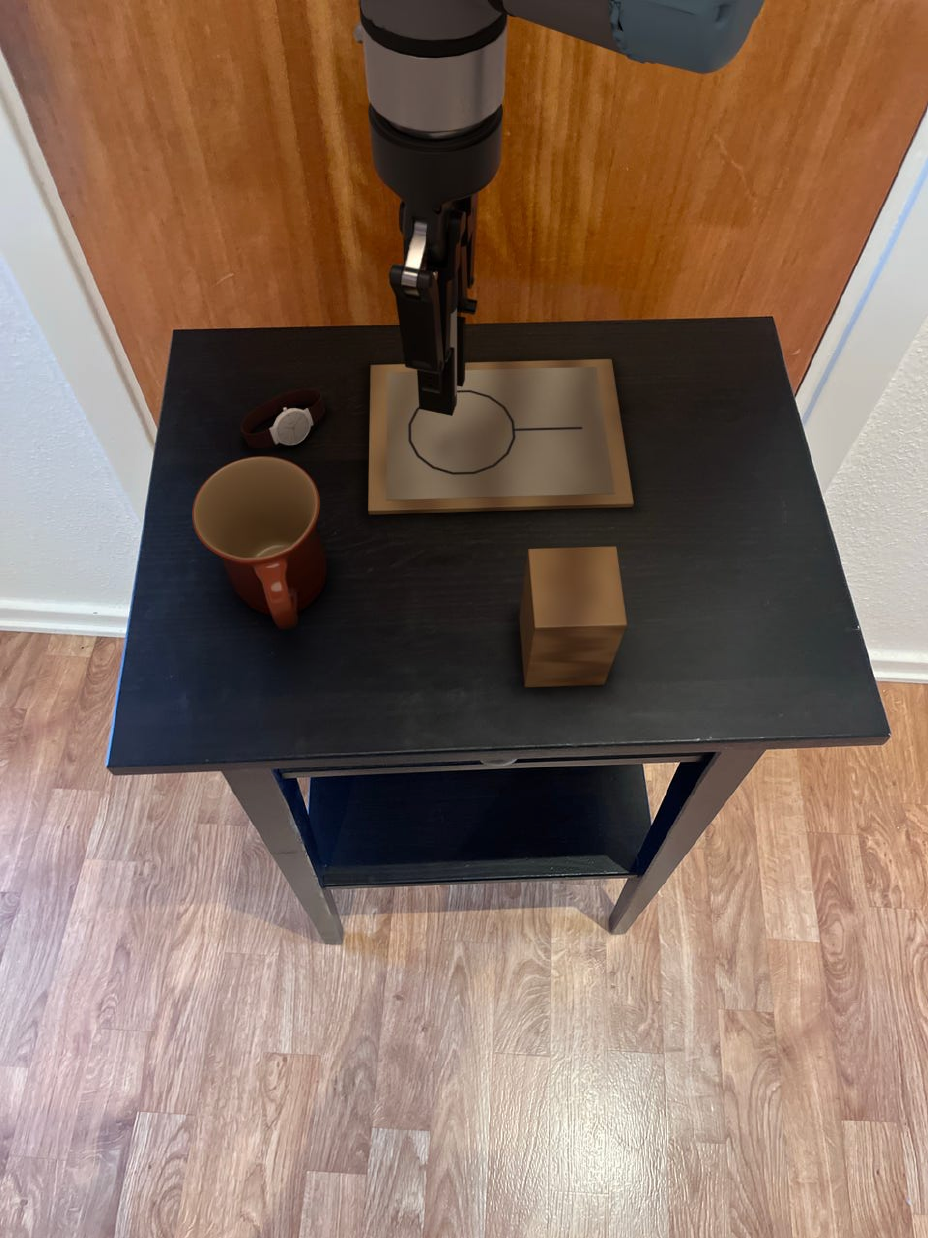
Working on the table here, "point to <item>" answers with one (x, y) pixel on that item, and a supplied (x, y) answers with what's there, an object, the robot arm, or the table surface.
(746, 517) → the table surface
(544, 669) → the wooden block
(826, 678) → the table surface
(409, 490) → the sketch pad
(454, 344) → the marker
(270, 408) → the watch
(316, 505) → the mug
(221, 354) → the table surface
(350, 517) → the table surface
